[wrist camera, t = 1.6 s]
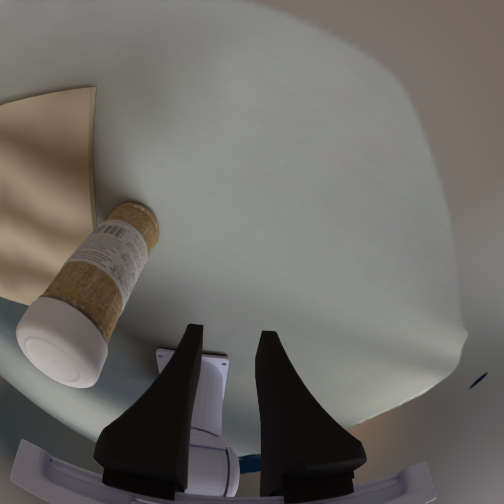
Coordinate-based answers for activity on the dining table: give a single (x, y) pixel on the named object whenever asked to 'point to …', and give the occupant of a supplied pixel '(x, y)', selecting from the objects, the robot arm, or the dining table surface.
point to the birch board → (44, 188)
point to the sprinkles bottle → (88, 298)
